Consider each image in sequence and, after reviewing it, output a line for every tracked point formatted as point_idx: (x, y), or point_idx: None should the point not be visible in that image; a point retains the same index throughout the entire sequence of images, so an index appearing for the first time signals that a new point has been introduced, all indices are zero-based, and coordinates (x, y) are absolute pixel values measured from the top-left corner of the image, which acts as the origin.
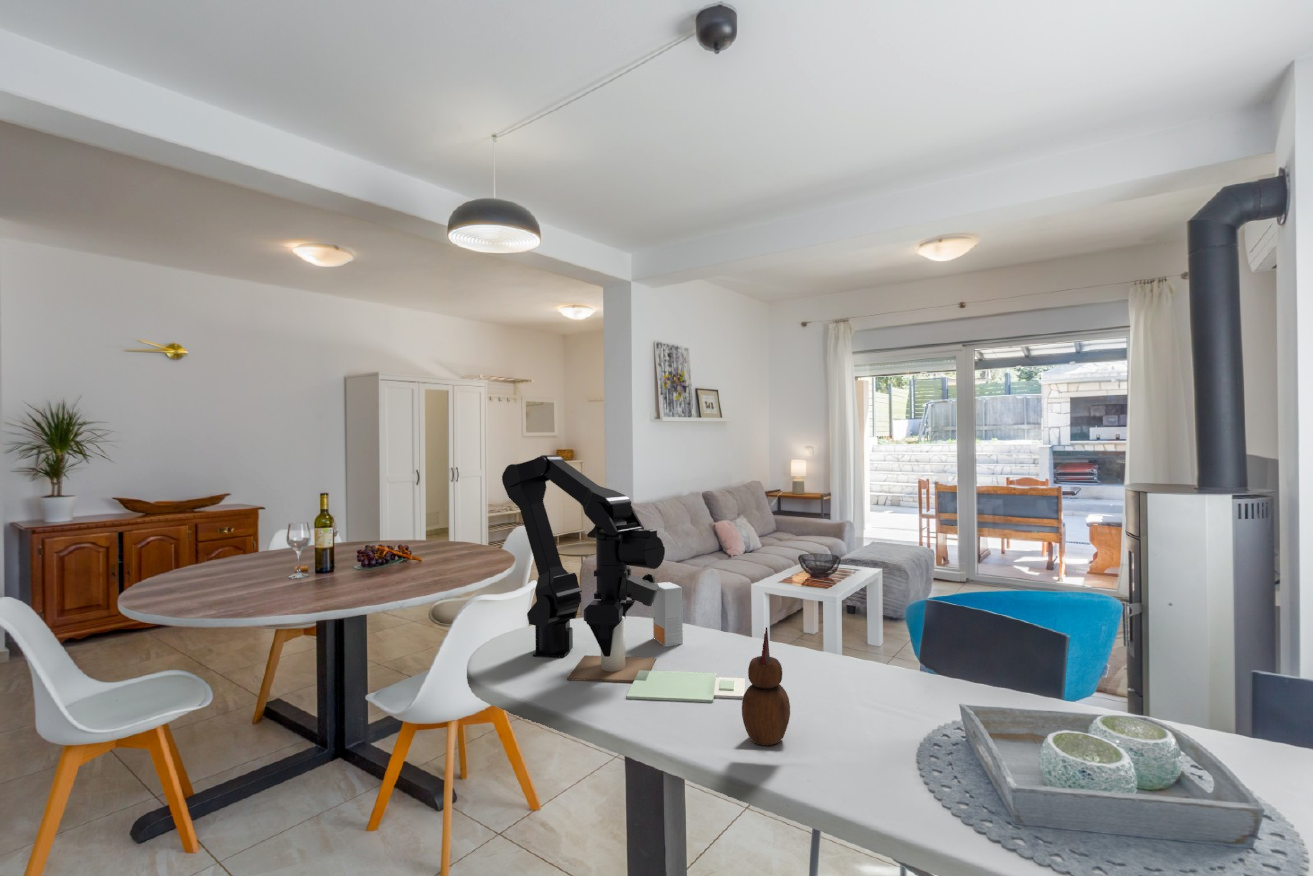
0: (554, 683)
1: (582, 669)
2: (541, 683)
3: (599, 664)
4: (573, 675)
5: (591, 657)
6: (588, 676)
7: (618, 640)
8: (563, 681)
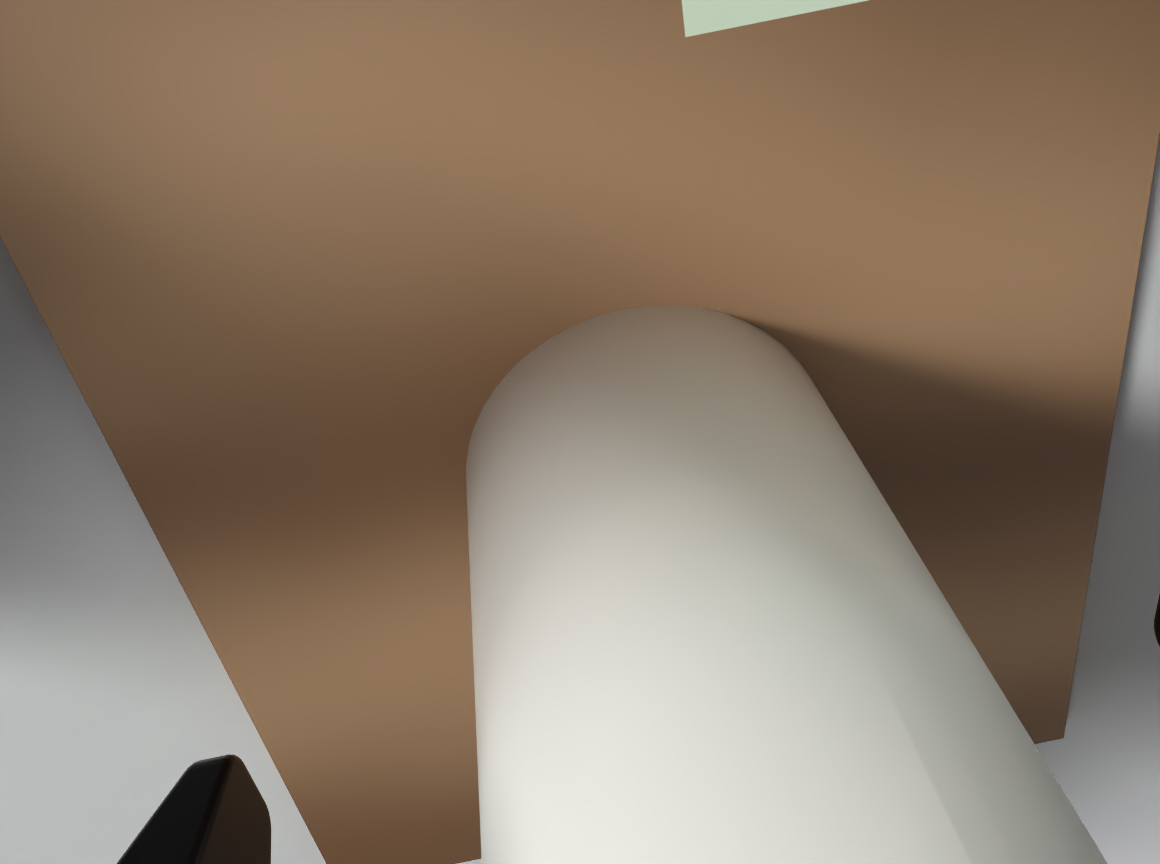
0: (1136, 762)
1: None
2: (1131, 836)
3: None
4: None
5: (379, 813)
6: (1024, 588)
7: (991, 708)
8: (1084, 727)
